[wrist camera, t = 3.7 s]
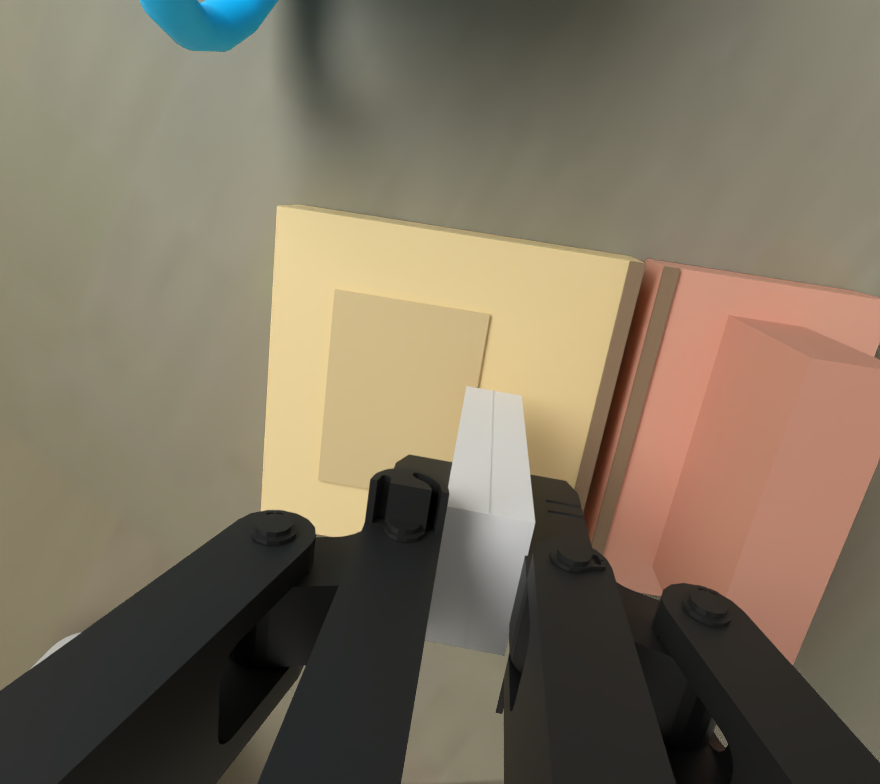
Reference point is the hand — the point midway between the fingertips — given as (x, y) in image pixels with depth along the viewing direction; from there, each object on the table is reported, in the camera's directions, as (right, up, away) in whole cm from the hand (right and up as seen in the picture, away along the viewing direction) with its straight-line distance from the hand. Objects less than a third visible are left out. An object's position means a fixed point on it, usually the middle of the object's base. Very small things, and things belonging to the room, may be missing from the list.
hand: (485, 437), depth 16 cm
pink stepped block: (+7, 0, +3) cm, 8 cm away
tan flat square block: (-1, +1, +3) cm, 4 cm away
